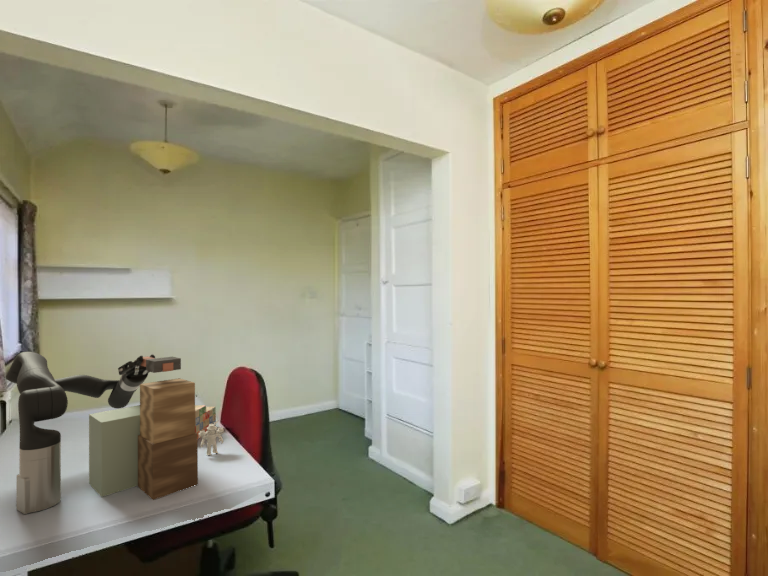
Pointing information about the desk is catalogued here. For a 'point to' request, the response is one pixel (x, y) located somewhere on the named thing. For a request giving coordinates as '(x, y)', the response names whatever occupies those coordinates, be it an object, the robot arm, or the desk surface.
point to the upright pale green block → (114, 450)
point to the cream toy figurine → (211, 437)
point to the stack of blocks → (204, 418)
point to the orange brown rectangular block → (161, 364)
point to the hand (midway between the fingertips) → (147, 357)
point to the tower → (167, 438)
